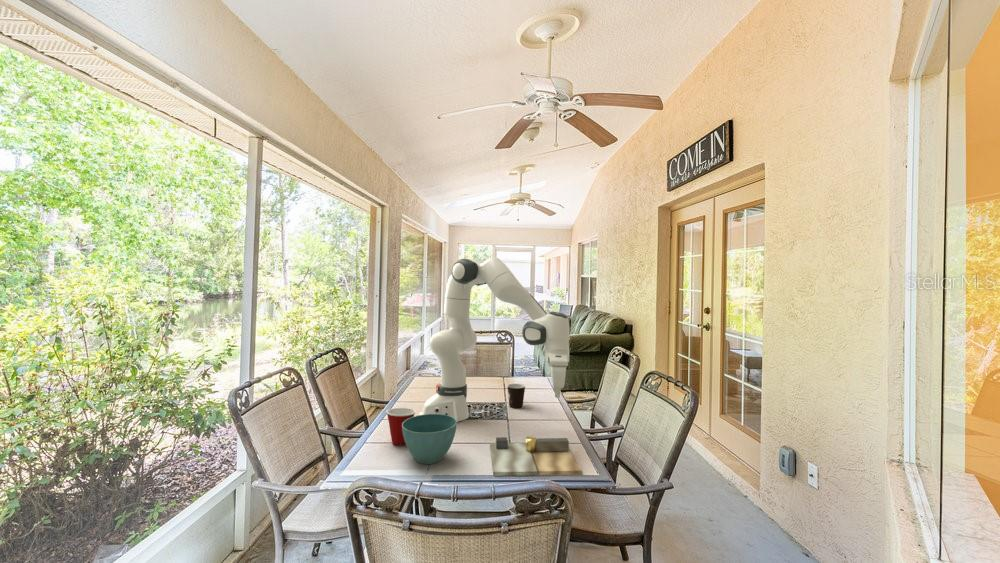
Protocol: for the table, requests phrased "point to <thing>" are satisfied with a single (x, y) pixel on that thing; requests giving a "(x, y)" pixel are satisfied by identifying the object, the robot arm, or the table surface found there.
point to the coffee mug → (516, 395)
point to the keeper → (501, 443)
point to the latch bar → (546, 444)
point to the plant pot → (429, 436)
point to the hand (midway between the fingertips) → (556, 394)
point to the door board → (531, 461)
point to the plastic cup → (398, 423)
